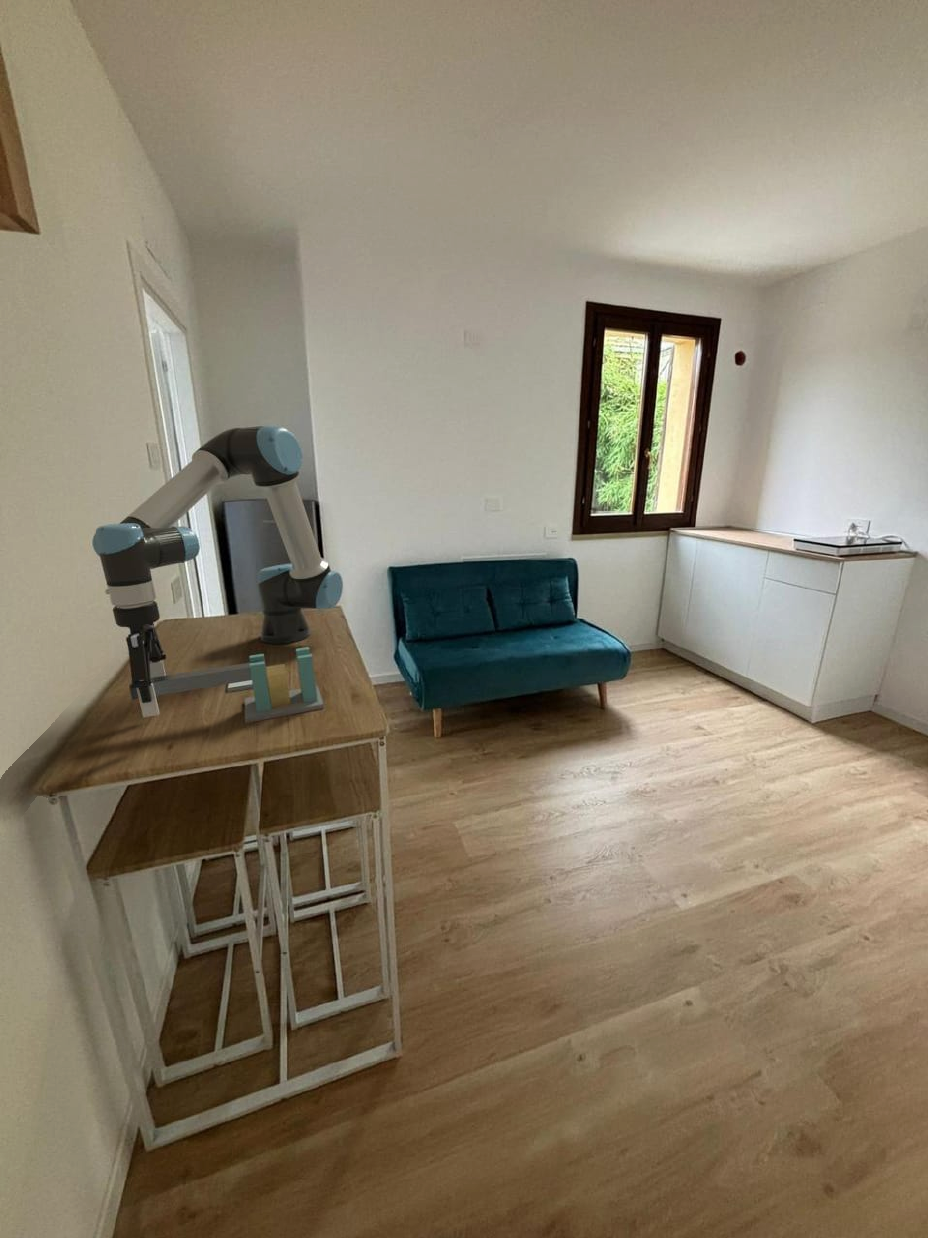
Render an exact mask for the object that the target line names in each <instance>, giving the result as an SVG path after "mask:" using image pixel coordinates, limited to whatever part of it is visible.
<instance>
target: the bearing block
mask: <svg viewBox="0 0 928 1238" xmlns="http://www.w3.org/2000/svg"><path fill="white" fill-rule="evenodd" d="M295 653H296V655H295V656H296V663H297V669H298V676H299V684H300V688H297V689H290V690H289V697H290V705H288V706H283V707H277V708H272V706H271V700H270V693H269V687H268V680H267V669H266V667H267V666H266V660H265V654H264V653H259V654H253V655H249V663H250V671H251V677H252V684H253V688H252V689H253V695H254V696H251V697H246V698H245V697H244V721H245V724H249V723H253V722H257V721H264V720H267V719H274V718H278V717H285V716H290V715H295V714H299V713H300V714H301V713H307V712H310V711H315V710H316V711H317V710H322V709H324V707H325V705H324V702H323V698H322V696H321V692H320V689H319V686H318V685H316V677H315V667H314V660H313V654H312V653H311V649H310V646H306V647H301V648H299V647H298V648H296V649H295ZM258 661H263V662H258ZM251 662H256V663H251Z"/></svg>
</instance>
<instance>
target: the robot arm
mask: <svg viewBox="0 0 928 1238" xmlns="http://www.w3.org/2000/svg"><path fill="white" fill-rule="evenodd" d="M302 459H303V451H302V447H301V445H300V443H299V441H298V439H297V438H296V436H295V435H294V434H293V433H292V432H291V431H289V430H288V429H287V428H285V427H283V426H278V425H277V426H275V425H274V426H273V425H262V426H259V425H258V426H251V427H250V426H249V427H233V428H229V429H227V430H224V431H222V432H220V433H218V434H216V436H214V437H212V438H210V440H208V441H207V442H205V443H204V444H202V445H201V446H200V447H199V448H198V449H197V450H196V451H194V452H193V454H192V456H191V461H190V462H189V463H187V464H186V465H185V466H184V467H183V468H182V469H181V470H180V471H178V472H177V473H176V474H174V476H172V477H171V479H169V480H168V481H166V482H165V483H164V484H163V485H162V486H161V487H159V488H158V489H157V491H155V492H154V493H153V494H152V495H151V496H149V497H148V498H147V499H146V500H145V501H143V503H141V504H140V505H139V506H138V507H136V508H135V509H134V510H133V511H132V512H131V513H129V514H128V515H127V516H126V517H125V518H124V519H122V520H121V521H120V522H118V523H113V524H105V525H101V526H98V527H97V528H96V530H95V533H94V535H93V537H92V547H93V550H94V552H95V553H96V555H97V556H98V557H99V559H100V561H101V567H102V570H103V574H104V578H105V581H106V585H107V589H105V591H104V593H105V594H107V595H109V598H110V602H111V605H113V606H114V607H113V609H112V612H113V617H114V620H115V624H116V626H118V627H120V628H128V629H129V634H128V635H127V636H126V638H125V641H126V643H127V644H126V645H127V649H128V651H127V652H128V656H129V657H128V659H129V666H130V675H131V681H132V685H130V684H129V685H130V686H131V689H133V688H137V693H138V697H139V699H138V701H139V704H140V709H141V713H142V717H143V718H148V717H152V716H153V717H155V716H159V715H160V709H159V704H158V702H157V701H158V700H157V696H156V695H155V691H154V686H153V683H151V678H153V677H160V676H166V675H167V674H166V671H165V670H166V669H165V666H164V661H163V660H167V656H166V655H167V654H164V650H163V648H162V645H161V643H160V642H161V641H160V639H159V636H158V634H157V631H156V628H155V623H156V622H158V620H159V619H160V616H161V615H160V611H159V606H158V603H157V602H156V601H155V599H157V595H156V591H155V586H154V582H153V578H152V572H151V570H153V569H157V568H162V567H166V566H172V565H176V564H183V563H184V564H185V562H186V563H187V562H188V561H192V560H194V559H195V558H197V556H198V555H199V552H200V550H201V549H200V548H201V545H200V540H199V537H198V535H197V533H195V531H193V529H191V528H189V527H187V526H174V525H175V524H176V523H177V522H178V521H179V520H181V519H182V518H183V517H184V516H185V515H186V514H187V513H188V512H189V511H190V510H191V509H192V508H193V507H194V506H195V505H197V503H198V502H200V501H201V500H202V498H204V497H205V496H206V495H207V494H208V493H209V492H211V490H212V489H213V488H214V487H215V486H216V485H223V484H225V483H226V482H227V481H228V480H230V479H231V478H233V477H236V476H240V475H251V477H252V479H253V482H254V485H255V486H256V487H257V488H259V489H261V490H263V492H264V494H265V497H266V500H267V502H268V504H269V507H270V511H271V512H272V515H273V519H274V521H275V523H276V527H277V529H278V532H279V535H280V537H281V540H282V543H283V545H284V547H285V550H286V553H287V556H288V558H289V561H290V563H284V564H279V565H273V566H269V567H265V568H262V569H260V570H259V571H258V573H257V579H258V582H257V583H258V584H257V585H258V589H259V590H258V591H259V595H260V600H261V601H260V602H261V608H262V612H263V613H262V614H263V617H262V623H261V626H260V627H261V628H260V640H261V641H262V642H263V643H265V644H271V645H281V644H282V645H283V644H290V643H294V642H298V641H301V640H305V639H306V638H308V637H309V636H310V635H311V628H310V625H309V623H308V621H307V618H306V617H305V615H304V613H303V609H302V608H305V609H317V610H320V611H321V610H331V609H333V608H335V607H336V606H337V604H338V603H339V602H340V600H341V598H342V594H343V588H344V584H343V583H344V582H343V578H342V575H341V574H340V573H339V572H338V571H336V570H331V567H330V564H329V562H328V560H327V559H325V558H323V557H321V554H320V551H319V547H318V545H317V541H316V539H315V538H316V537H315V535H314V533H313V532H314V531H313V530H312V529H313V528H312V527H311V523H310V520H309V517H308V515H307V512H306V509H305V505H304V502H303V499H302V497H301V493H300V491H299V488H298V484H297V480H298V478H299V476H300V473H299V470H301V467H302V465H303V460H302ZM139 680H144V681H139Z"/></svg>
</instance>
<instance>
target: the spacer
mask: <svg viewBox="0 0 928 1238" xmlns="http://www.w3.org/2000/svg"><path fill="white" fill-rule="evenodd" d="M266 672H267V680H268V687H269V693H270V700H271V706H272V708H277V707H283V706H288V705H290V697H289V691H290V690H289V685H288V678H287V677H288V676H287V669H286V665H285V663H283V664H281V663H280V664H275V665H269V666H266Z"/></svg>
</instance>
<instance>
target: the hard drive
mask: <svg viewBox="0 0 928 1238" xmlns="http://www.w3.org/2000/svg"><path fill="white" fill-rule="evenodd" d="M250 689H253V684H252V680H249V681H243V682H237V683H231V684H227V693H229V692H230V693H231V692H236V691H237V692H238V691H243V690H250Z"/></svg>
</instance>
